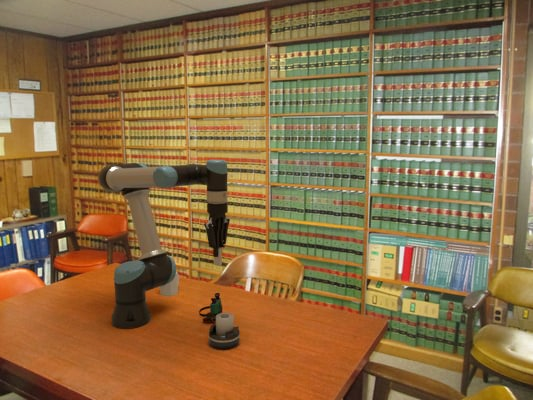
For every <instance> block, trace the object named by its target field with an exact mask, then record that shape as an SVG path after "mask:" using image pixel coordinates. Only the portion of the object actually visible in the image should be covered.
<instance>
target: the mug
mask: <svg viewBox="0 0 533 400" xmlns="http://www.w3.org/2000/svg"><path fill="white" fill-rule="evenodd" d="M179 282H180V274H179V273H178V271H176V275H175V277H174V279H173V280H172V281H171V282H170V283H168V284H166V285H164V286H160V287H159V292H160V293H159V294H161V296H164V297H173V296H175V295H177V294H178V293H179Z"/></svg>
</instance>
